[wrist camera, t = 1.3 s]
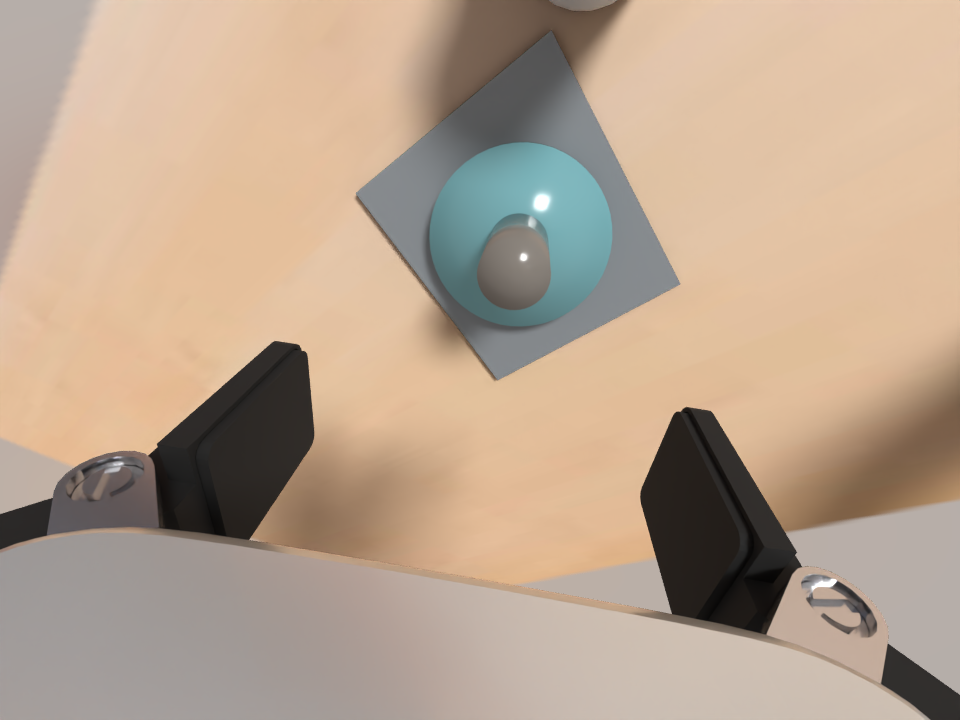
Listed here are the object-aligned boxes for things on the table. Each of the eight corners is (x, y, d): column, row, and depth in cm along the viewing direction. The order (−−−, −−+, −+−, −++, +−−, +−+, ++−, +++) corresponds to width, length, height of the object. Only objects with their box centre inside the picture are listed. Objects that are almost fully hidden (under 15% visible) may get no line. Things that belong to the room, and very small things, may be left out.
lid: (640, 264, 27) (670, 309, 21) (495, 345, 31) (485, 403, 25) (550, 97, 24) (554, 91, 17) (398, 213, 28) (358, 243, 21)
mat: (678, 281, 28) (680, 284, 28) (498, 377, 33) (497, 380, 33) (551, 31, 22) (551, 30, 22) (357, 192, 28) (355, 193, 27)
